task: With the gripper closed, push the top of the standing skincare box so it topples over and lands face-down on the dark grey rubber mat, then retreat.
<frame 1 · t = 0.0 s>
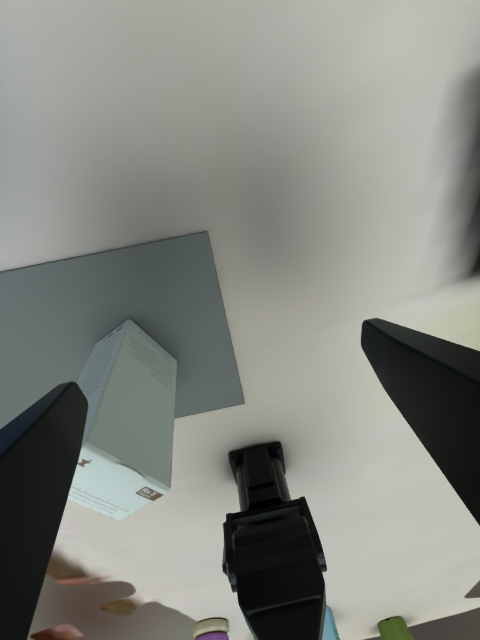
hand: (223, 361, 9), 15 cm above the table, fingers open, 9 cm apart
skincare box: (140, 350, 25), resting on mat
plant pot: (389, 619, 81), on the table
mat: (97, 358, 25), on the table
gum box: (291, 617, 69), on the table
stacking toy: (210, 622, 64), on the table
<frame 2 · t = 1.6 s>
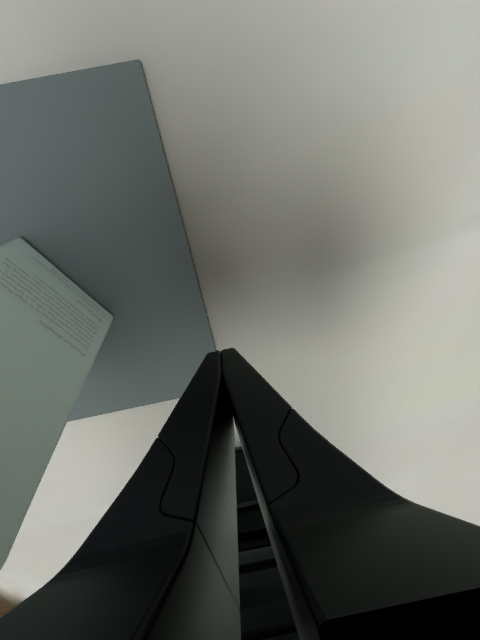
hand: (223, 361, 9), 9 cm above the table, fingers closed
skincare box: (53, 299, 16), resting on mat
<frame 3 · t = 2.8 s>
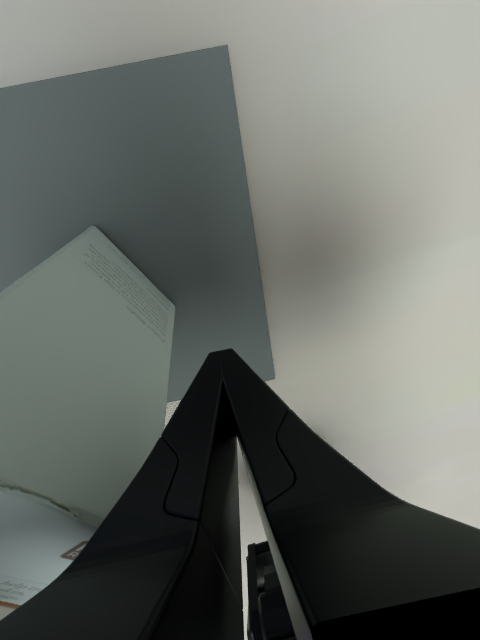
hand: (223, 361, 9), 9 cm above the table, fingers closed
skincare box: (117, 288, 16), resting on mat, touching gripper
mat: (48, 301, 16), on the table
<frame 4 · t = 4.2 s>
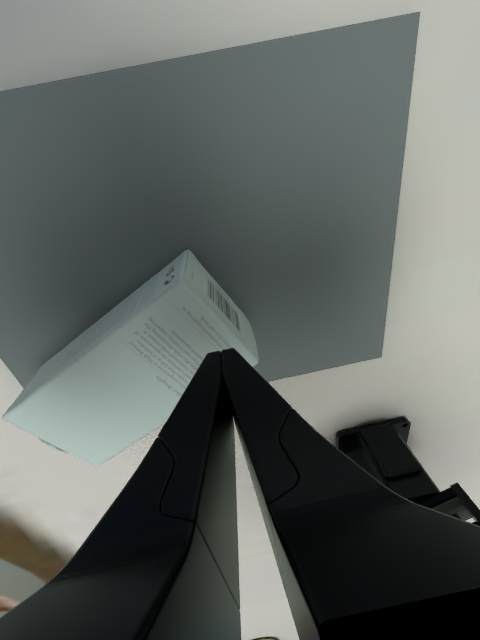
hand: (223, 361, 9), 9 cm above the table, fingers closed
skincare box: (230, 304, 14), point 3 cm above the table, touching mat
mat: (187, 274, 16), on the table
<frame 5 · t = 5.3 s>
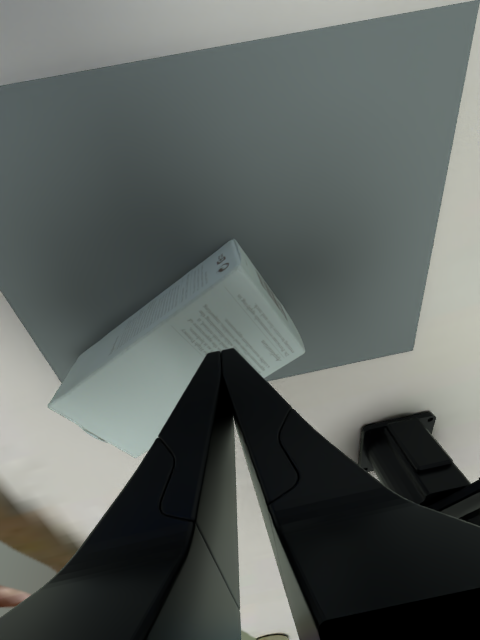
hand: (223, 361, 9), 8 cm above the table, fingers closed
skincare box: (276, 293, 14), point 3 cm above the table, touching mat
mat: (228, 264, 16), on the table
stacking toy: (268, 638, 55), on the table
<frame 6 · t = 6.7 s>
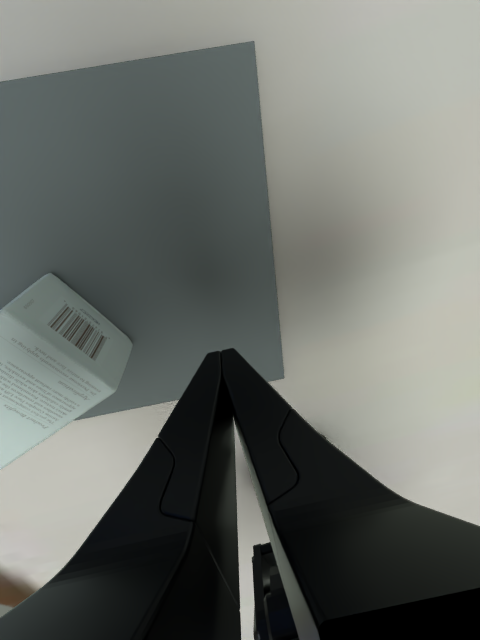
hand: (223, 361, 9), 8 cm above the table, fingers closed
skincare box: (88, 330, 14), point 3 cm above the table, touching mat
mat: (60, 295, 16), on the table
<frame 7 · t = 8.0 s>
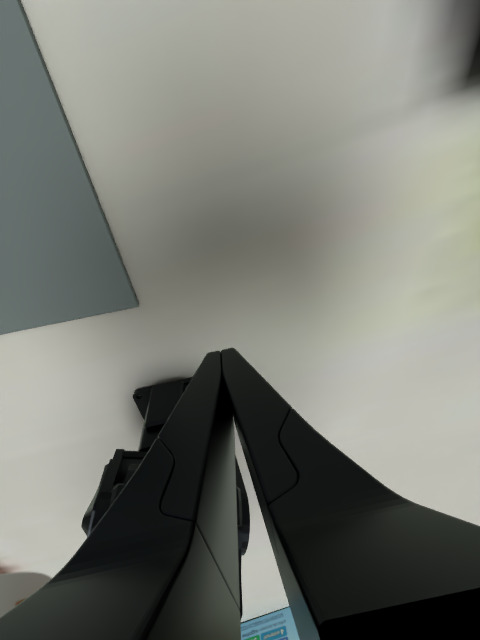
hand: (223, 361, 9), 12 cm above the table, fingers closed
gum box: (262, 617, 60), on the table
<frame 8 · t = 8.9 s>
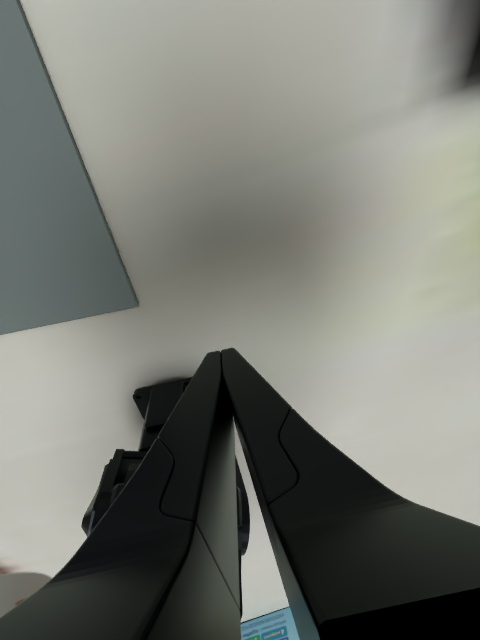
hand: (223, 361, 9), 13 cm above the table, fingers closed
gum box: (262, 617, 60), on the table
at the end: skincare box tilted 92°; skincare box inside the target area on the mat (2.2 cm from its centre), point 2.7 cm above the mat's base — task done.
